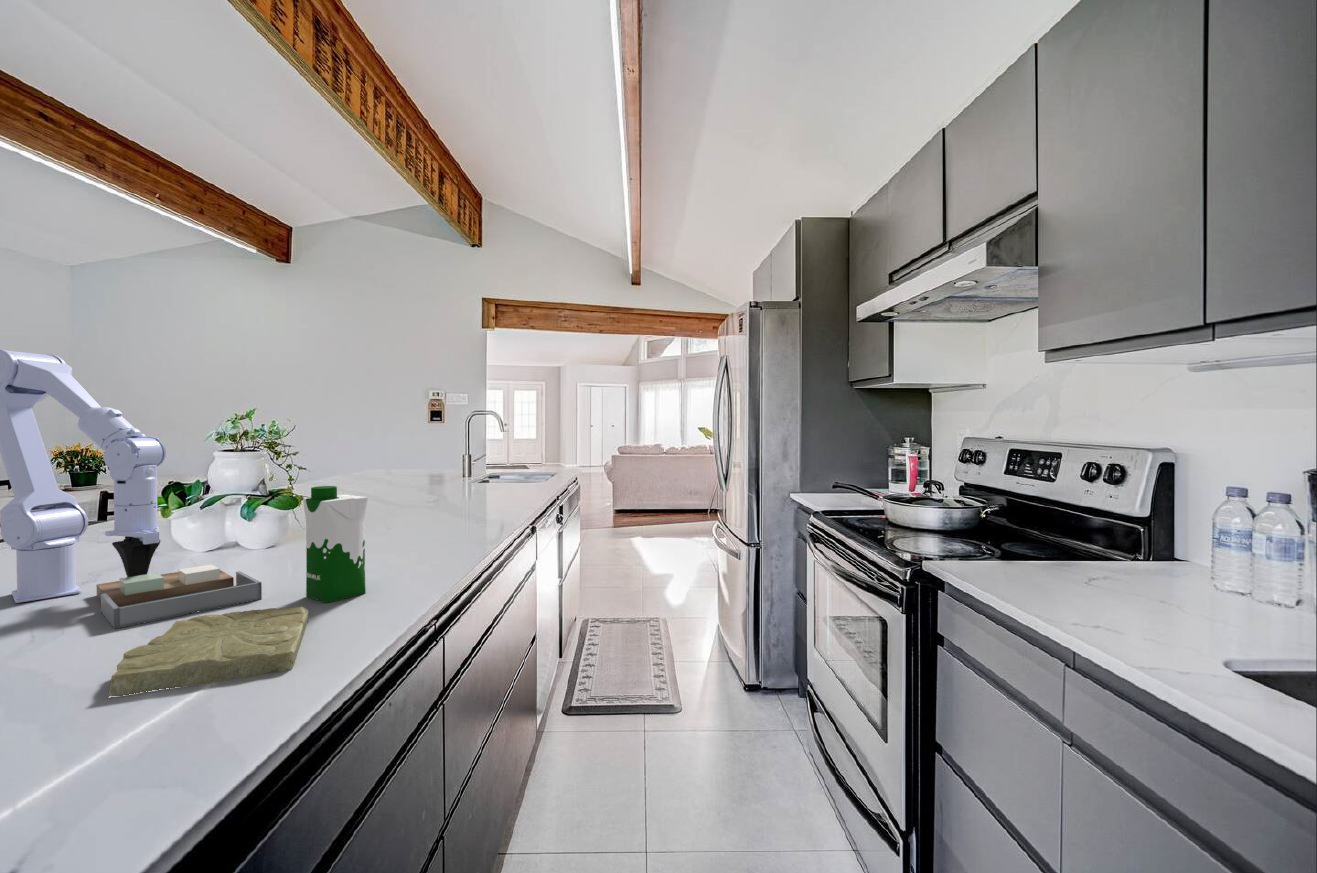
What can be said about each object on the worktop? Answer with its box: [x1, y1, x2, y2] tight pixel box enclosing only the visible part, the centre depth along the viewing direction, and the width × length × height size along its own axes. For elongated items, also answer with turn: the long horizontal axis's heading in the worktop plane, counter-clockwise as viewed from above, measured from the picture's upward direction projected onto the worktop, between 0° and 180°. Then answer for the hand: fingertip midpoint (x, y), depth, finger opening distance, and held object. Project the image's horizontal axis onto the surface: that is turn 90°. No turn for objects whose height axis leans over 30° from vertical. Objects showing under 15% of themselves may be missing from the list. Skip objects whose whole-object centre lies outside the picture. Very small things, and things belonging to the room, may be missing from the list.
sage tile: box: [119, 572, 164, 595], centre depth 99 cm, size 5×5×2 cm
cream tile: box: [178, 564, 221, 585], centre depth 105 cm, size 5×5×2 cm
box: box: [100, 570, 263, 630], centre depth 96 cm, size 12×19×3 cm, turn 142°
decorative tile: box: [107, 606, 310, 697], centre depth 76 cm, size 19×20×4 cm
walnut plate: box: [96, 569, 235, 607], centre depth 104 cm, size 13×17×2 cm
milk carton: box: [302, 485, 369, 604], centre depth 103 cm, size 9×9×20 cm
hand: (137, 579), depth 101 cm, fingers closed
